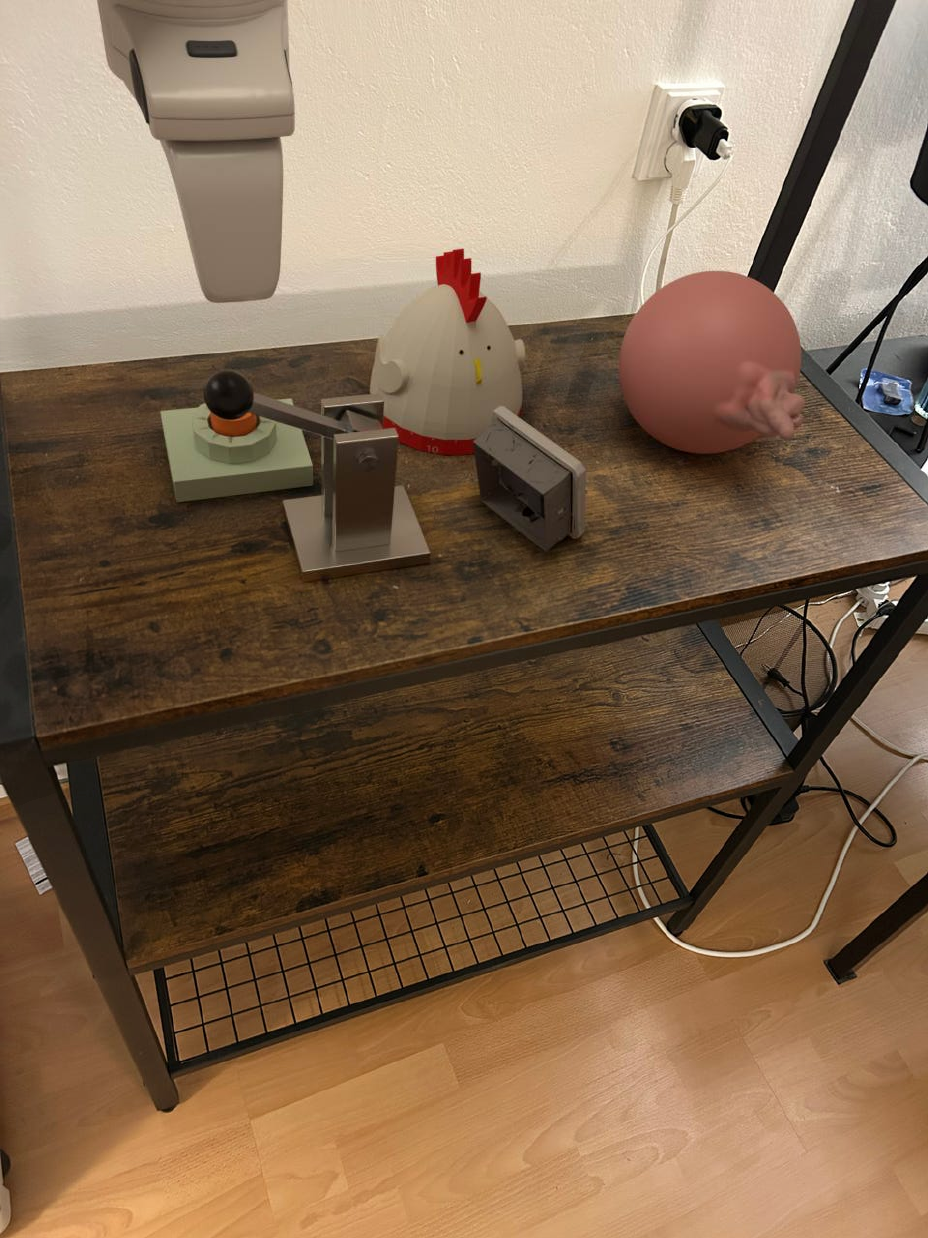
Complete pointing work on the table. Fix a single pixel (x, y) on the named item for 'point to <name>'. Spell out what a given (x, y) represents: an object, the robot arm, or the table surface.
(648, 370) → the balloon
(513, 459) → the electrical switch
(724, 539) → the table surface
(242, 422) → the button
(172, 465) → the control block
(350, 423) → the switch lever
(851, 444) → the table surface
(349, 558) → the switch bracket
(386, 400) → the kitchen timer
